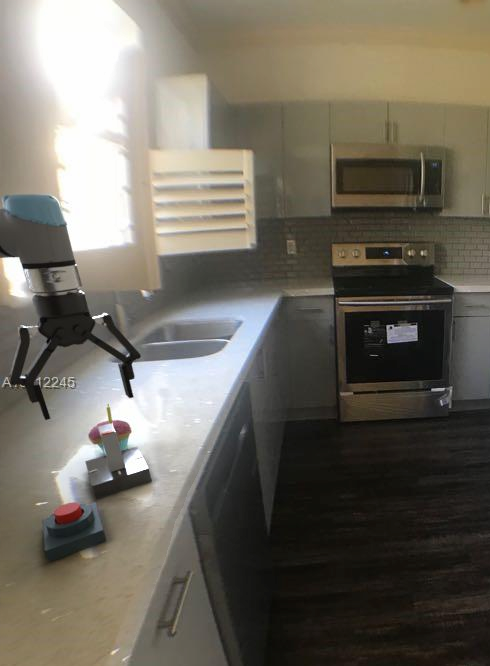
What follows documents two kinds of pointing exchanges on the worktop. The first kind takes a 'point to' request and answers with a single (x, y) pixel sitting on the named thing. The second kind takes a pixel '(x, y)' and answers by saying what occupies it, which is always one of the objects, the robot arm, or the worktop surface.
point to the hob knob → (111, 447)
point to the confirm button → (68, 513)
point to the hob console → (118, 473)
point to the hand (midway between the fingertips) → (90, 406)
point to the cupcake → (120, 427)
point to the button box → (73, 533)
